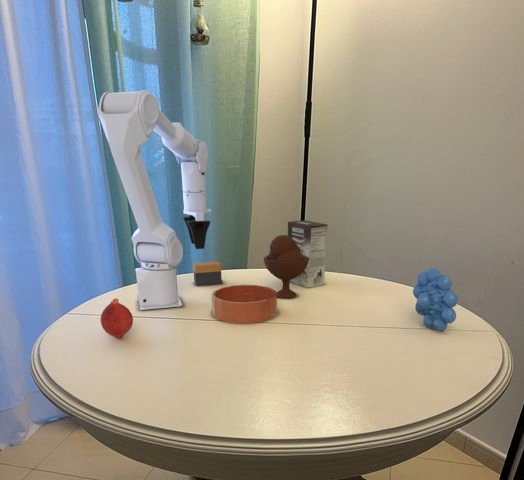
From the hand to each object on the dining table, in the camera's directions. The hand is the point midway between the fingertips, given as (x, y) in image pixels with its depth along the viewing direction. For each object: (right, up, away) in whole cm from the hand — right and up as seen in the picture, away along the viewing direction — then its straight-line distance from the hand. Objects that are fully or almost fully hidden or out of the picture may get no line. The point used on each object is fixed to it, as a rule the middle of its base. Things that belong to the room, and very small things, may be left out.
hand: (197, 246), depth 120 cm
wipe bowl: (+13, -19, -18) cm, 30 cm away
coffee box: (+29, -9, +5) cm, 31 cm away
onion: (-11, -25, -32) cm, 42 cm away
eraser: (+2, -9, +5) cm, 11 cm away
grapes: (+50, -23, -28) cm, 62 cm away
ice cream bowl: (+23, -14, -6) cm, 28 cm away
